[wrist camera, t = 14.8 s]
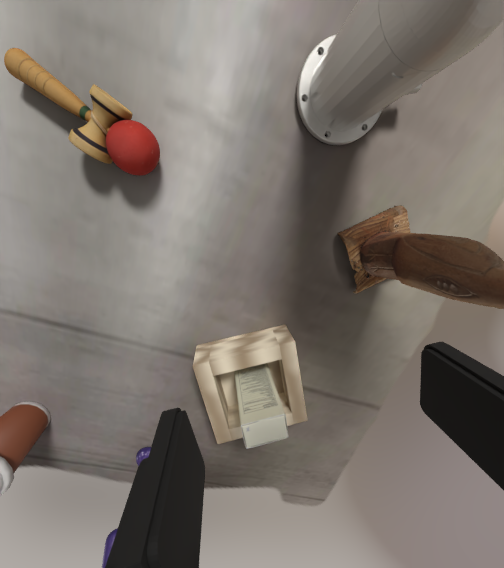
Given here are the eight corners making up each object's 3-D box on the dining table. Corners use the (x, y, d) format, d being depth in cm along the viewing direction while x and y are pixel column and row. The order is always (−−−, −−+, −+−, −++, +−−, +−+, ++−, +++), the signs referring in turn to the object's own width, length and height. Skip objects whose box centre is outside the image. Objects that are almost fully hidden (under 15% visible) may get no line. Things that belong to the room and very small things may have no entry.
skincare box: (237, 387, 43) (243, 450, 32) (233, 367, 42) (237, 426, 30) (271, 380, 44) (289, 439, 32) (268, 360, 43) (286, 415, 31)
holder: (285, 324, 42) (295, 341, 36) (297, 395, 47) (307, 420, 41) (196, 345, 41) (192, 366, 35) (218, 415, 46) (217, 444, 40)
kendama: (23, 112, 30) (144, 197, 33) (-30, 71, 24) (125, 179, 26) (57, 64, 31) (176, 151, 33) (14, 10, 24) (164, 123, 27)
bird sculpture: (330, 235, 39) (739, 314, 8) (395, 203, 38) (1067, 156, 8) (351, 292, 42) (694, 499, 11) (410, 263, 42) (921, 393, 11)
